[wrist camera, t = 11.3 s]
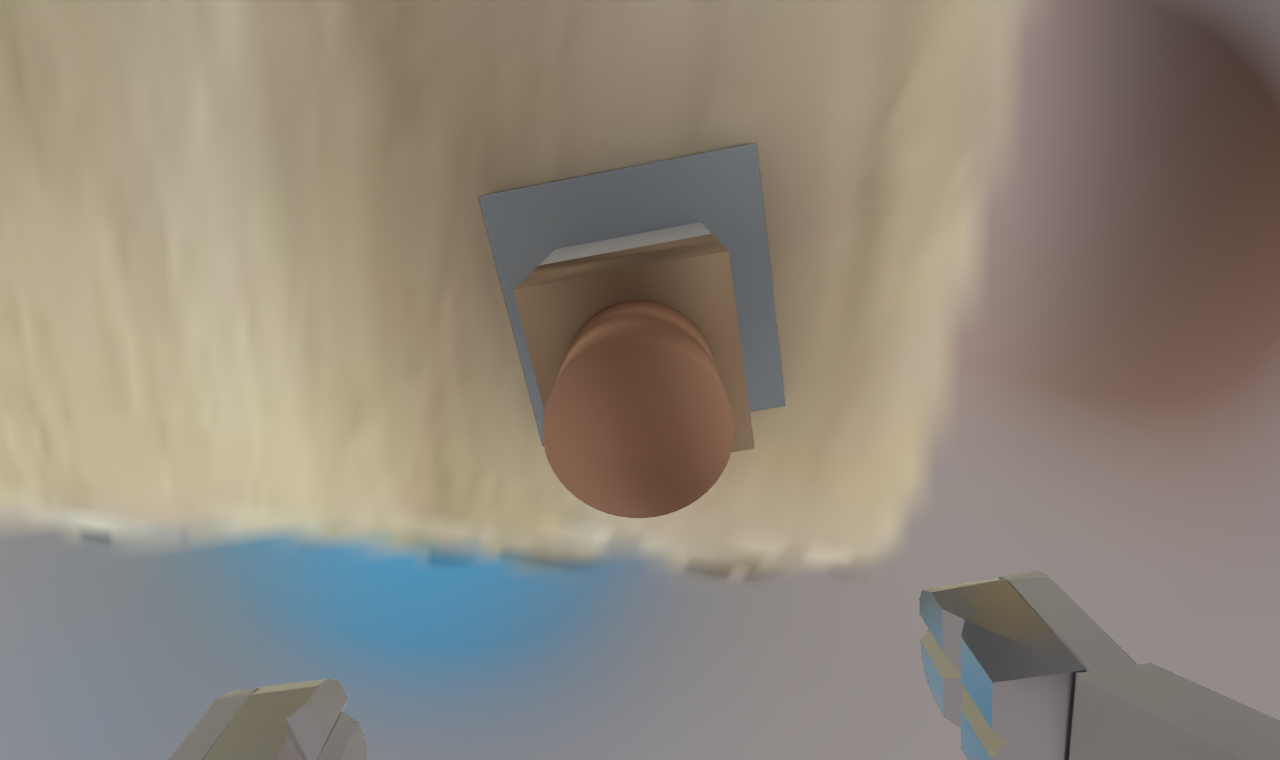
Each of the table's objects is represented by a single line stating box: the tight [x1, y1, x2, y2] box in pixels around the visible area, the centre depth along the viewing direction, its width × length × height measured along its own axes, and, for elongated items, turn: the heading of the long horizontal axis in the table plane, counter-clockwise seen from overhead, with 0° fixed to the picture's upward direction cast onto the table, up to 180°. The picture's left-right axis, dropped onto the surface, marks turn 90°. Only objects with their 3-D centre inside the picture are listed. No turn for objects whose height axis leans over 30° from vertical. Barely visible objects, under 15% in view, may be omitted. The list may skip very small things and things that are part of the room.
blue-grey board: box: [478, 143, 785, 446], centre depth 31 cm, size 13×13×2 cm
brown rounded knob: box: [542, 300, 734, 518], centre depth 18 cm, size 5×5×5 cm
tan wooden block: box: [513, 234, 754, 452], centre depth 23 cm, size 7×7×5 cm
